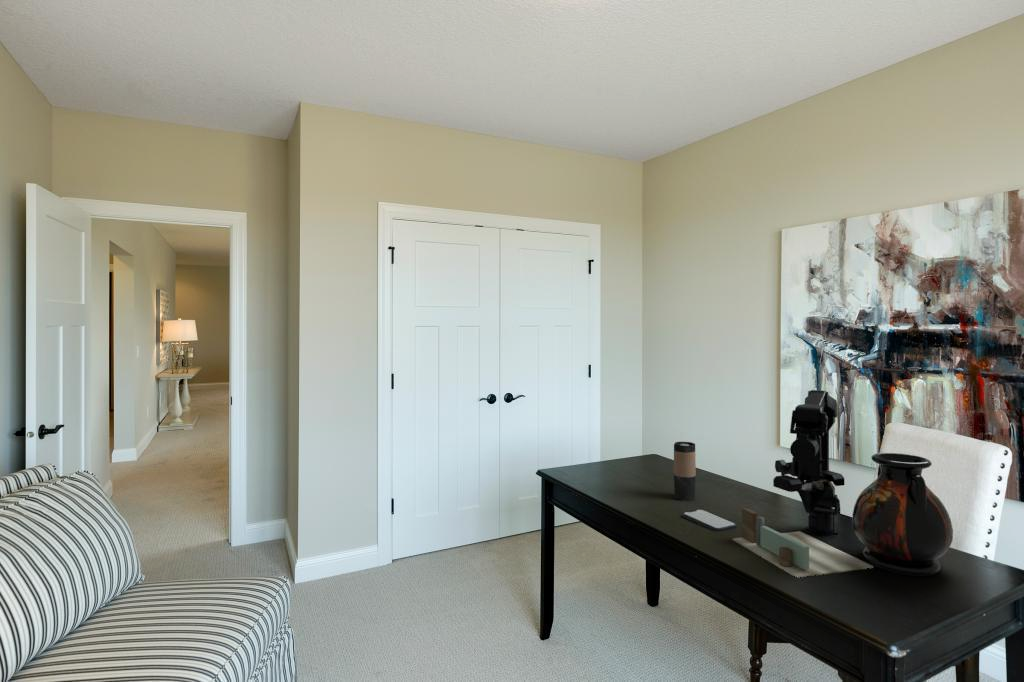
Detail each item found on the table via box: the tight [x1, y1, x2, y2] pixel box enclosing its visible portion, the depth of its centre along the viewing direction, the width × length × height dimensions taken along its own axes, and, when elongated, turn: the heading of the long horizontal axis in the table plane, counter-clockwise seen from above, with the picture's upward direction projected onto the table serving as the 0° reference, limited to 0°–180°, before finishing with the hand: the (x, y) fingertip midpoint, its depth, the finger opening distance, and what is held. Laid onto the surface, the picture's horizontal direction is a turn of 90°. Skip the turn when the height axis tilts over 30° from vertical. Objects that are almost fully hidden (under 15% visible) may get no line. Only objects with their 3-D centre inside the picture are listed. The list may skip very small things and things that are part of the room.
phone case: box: [682, 509, 737, 532], centre depth 180 cm, size 9×2×16 cm
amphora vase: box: [852, 452, 954, 577], centre depth 146 cm, size 22×22×28 cm
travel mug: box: [673, 441, 697, 501], centre depth 205 cm, size 8×8×20 cm
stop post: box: [779, 547, 792, 567], centre depth 146 cm, size 3×3×4 cm
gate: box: [756, 516, 809, 569], centre depth 151 cm, size 18×2×8 cm, turn 15°
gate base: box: [732, 507, 875, 579], centre depth 154 cm, size 23×26×9 cm
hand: (808, 513), depth 149 cm, fingers closed
